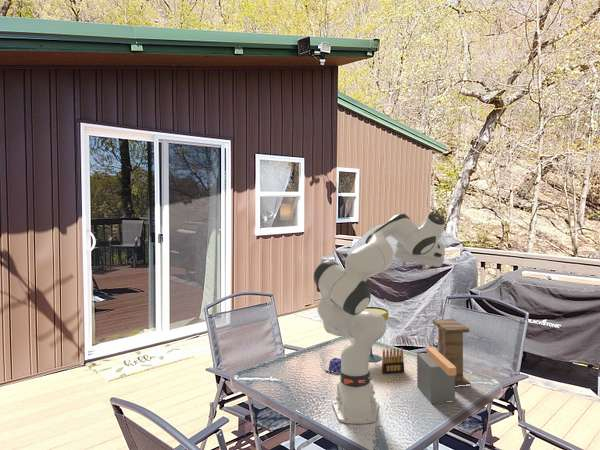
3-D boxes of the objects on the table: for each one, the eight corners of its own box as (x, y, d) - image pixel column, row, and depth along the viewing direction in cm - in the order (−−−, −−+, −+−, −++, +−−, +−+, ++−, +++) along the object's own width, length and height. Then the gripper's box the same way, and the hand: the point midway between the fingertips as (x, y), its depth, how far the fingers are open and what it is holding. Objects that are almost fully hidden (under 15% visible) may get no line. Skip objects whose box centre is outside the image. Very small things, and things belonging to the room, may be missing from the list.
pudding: (325, 365, 230) (325, 355, 230) (349, 366, 228) (349, 355, 228) (323, 374, 218) (322, 363, 218) (348, 375, 216) (348, 364, 216)
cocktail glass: (348, 354, 243) (347, 308, 242) (378, 350, 249) (378, 305, 247) (362, 366, 226) (362, 316, 225) (395, 361, 232) (394, 313, 230)
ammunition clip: (402, 370, 220) (402, 346, 219) (404, 372, 218) (404, 347, 217) (381, 372, 218) (381, 348, 217) (382, 374, 216) (382, 349, 215)
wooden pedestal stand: (471, 387, 199) (471, 328, 198) (444, 388, 198) (444, 330, 197) (455, 373, 215) (455, 318, 213) (431, 374, 214) (430, 320, 212)
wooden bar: (456, 375, 175) (456, 367, 175) (448, 375, 175) (448, 368, 175) (433, 354, 199) (433, 347, 199) (426, 354, 199) (426, 347, 198)
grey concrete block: (454, 401, 186) (454, 365, 185) (431, 403, 185) (430, 367, 184) (439, 385, 202) (439, 352, 201) (417, 387, 201) (417, 353, 200)
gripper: (398, 245, 184) (389, 266, 194) (448, 256, 184) (436, 277, 193) (398, 234, 189) (390, 255, 199) (447, 245, 188) (436, 266, 198)
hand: (413, 266), depth 196 cm, fingers open, 8 cm apart
